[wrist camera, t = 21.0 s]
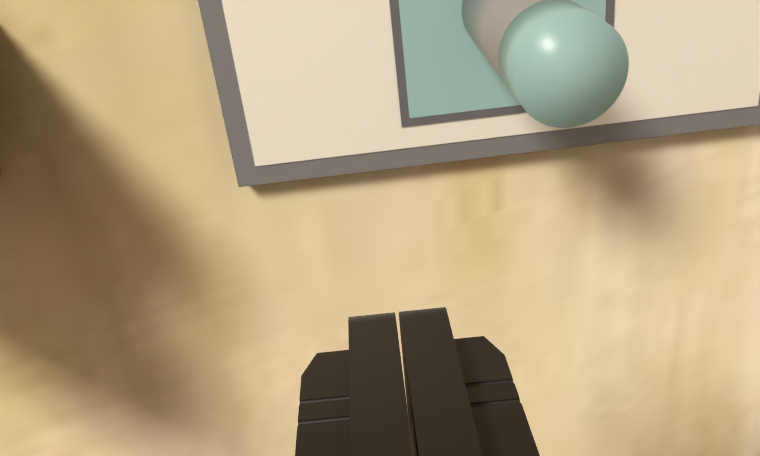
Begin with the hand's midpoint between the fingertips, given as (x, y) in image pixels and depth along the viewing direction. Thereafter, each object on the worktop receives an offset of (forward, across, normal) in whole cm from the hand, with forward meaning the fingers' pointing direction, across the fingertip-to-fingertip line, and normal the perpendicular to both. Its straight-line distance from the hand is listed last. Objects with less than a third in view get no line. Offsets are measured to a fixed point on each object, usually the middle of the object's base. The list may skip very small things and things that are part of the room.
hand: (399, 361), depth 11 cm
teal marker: (+23, -6, -1) cm, 24 cm away
